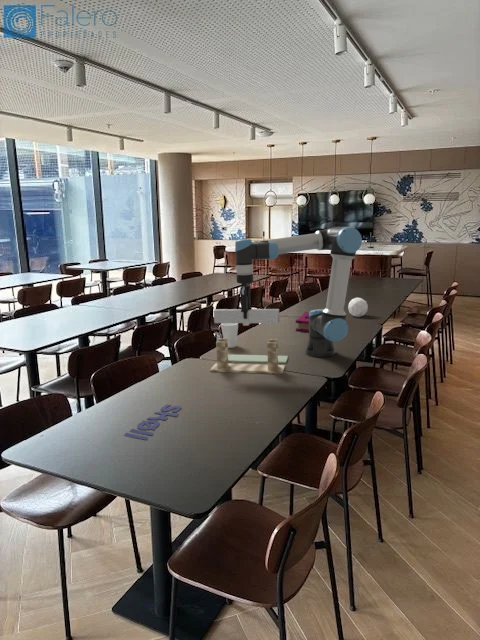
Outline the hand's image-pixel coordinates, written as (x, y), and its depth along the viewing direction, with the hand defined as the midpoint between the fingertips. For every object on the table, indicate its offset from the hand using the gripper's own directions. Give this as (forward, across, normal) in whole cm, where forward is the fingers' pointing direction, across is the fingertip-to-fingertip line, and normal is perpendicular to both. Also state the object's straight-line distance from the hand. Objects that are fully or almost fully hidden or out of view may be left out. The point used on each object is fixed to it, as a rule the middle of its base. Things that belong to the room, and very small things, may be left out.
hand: (246, 324), depth 219 cm
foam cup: (+22, -40, -17) cm, 49 cm away
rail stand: (+22, 0, 0) cm, 22 cm away
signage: (+22, +61, -22) cm, 69 cm away
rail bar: (-1, 0, 0) cm, 1 cm away
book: (+23, -90, +28) cm, 97 cm away
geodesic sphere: (+23, -124, +56) cm, 138 cm away
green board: (+22, -16, 0) cm, 27 cm away
